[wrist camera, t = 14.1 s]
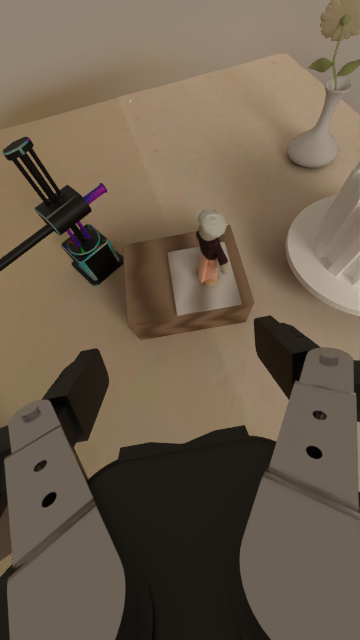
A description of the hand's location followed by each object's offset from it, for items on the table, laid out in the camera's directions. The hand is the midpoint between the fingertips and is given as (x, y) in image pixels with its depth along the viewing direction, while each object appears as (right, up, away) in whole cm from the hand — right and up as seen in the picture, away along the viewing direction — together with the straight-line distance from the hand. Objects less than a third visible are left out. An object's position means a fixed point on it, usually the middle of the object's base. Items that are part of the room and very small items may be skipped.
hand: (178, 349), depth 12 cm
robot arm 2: (-22, +11, +39) cm, 46 cm away
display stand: (+1, +7, +34) cm, 35 cm away
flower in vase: (+32, +43, +46) cm, 71 cm away
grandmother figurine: (+5, +8, +25) cm, 27 cm away
